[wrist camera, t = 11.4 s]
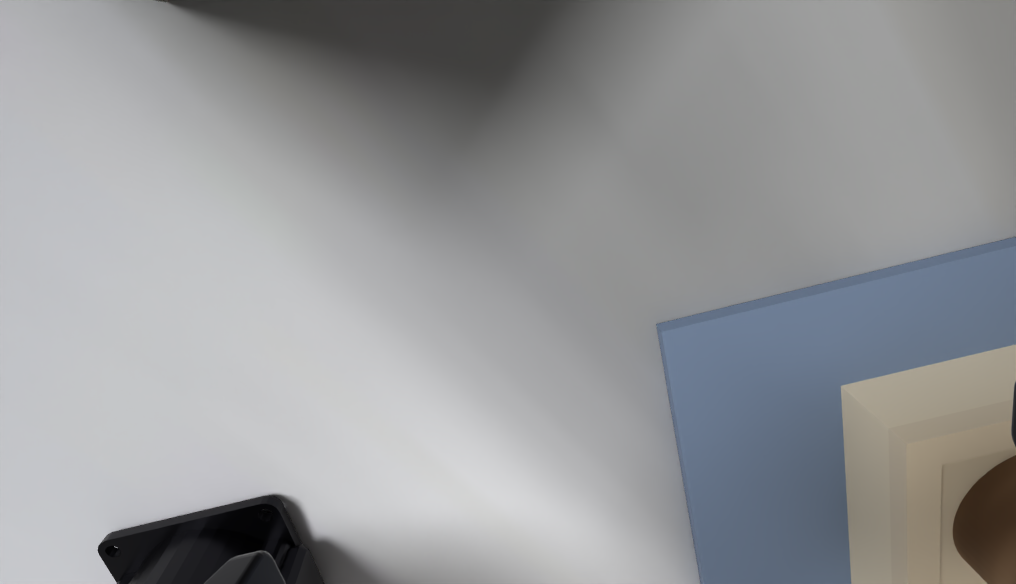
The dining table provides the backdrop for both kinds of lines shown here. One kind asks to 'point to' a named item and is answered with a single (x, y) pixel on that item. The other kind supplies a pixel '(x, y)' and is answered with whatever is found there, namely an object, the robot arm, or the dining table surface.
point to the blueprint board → (793, 401)
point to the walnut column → (990, 525)
